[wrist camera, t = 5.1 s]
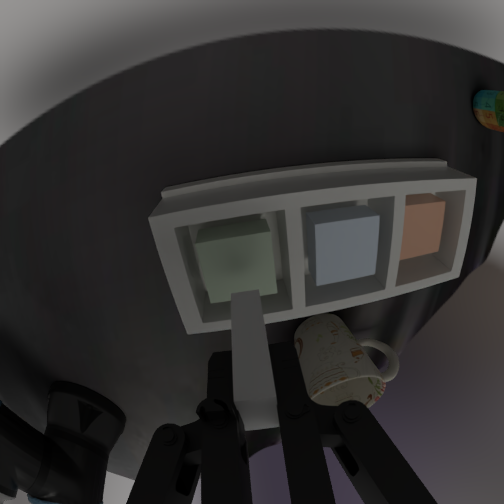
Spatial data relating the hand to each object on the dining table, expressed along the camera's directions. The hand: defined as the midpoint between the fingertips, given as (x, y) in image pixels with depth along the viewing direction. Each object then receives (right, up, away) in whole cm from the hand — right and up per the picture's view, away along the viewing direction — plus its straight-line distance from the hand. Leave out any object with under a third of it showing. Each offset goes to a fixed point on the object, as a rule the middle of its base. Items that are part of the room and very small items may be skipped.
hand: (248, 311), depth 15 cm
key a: (-1, +3, +6) cm, 7 cm away
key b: (+7, +4, +6) cm, 10 cm away
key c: (+15, +6, +8) cm, 18 cm away
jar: (+26, +19, +4) cm, 33 cm away
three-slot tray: (+7, +6, +9) cm, 13 cm away
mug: (+10, -6, +16) cm, 20 cm away
